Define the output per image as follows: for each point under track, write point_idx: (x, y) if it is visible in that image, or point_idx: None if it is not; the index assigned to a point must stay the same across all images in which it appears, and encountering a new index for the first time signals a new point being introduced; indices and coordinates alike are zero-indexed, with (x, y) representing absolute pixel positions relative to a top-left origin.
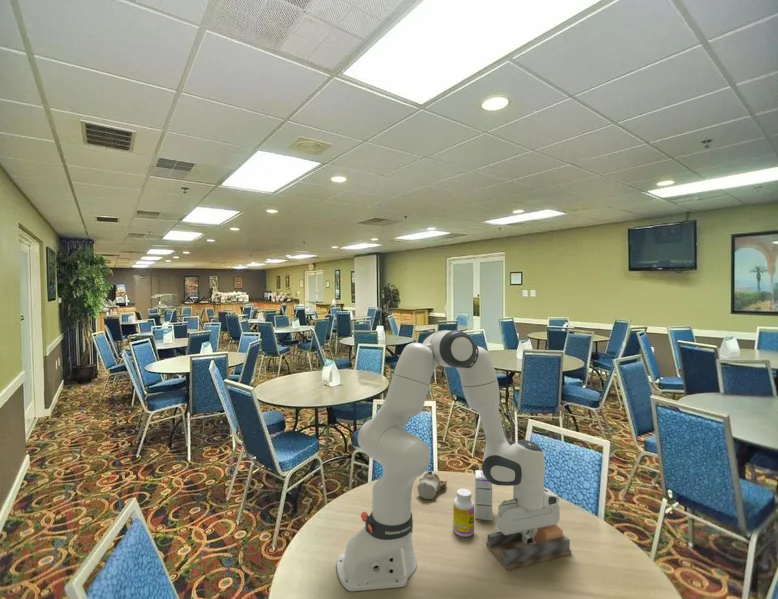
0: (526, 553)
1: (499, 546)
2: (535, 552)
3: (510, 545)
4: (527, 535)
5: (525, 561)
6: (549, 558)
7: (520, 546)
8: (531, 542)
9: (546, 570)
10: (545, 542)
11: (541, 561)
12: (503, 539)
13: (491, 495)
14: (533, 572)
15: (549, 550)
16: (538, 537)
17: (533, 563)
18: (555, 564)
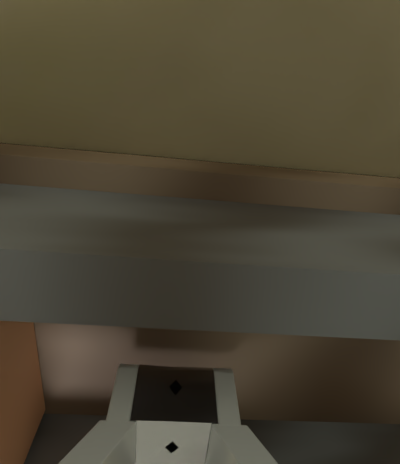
0: (394, 248)
1: (395, 412)
2: (242, 230)
3: (308, 397)
4: (164, 458)
5: (380, 200)
6: (60, 153)
7: (238, 366)
8: (153, 368)
9: (228, 21)
10: (2, 301)
11: (175, 159)
12: (359, 462)
13: None
14: (389, 62)
15: (7, 204)
16: (11, 400)
17: (277, 170)
18: (45, 59)
